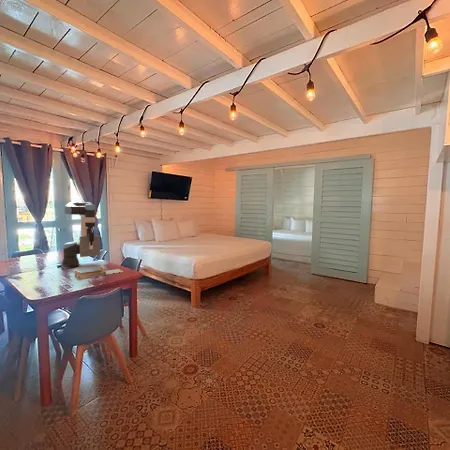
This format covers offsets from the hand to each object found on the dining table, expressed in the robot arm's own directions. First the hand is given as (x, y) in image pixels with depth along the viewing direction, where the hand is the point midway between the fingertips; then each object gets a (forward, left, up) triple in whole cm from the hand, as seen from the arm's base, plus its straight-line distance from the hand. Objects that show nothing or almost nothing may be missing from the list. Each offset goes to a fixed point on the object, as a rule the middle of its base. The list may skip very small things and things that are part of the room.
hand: (90, 248), depth 210 cm
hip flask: (0, 0, -7) cm, 7 cm away
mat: (0, +19, -24) cm, 31 cm away
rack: (0, 0, -24) cm, 24 cm away
